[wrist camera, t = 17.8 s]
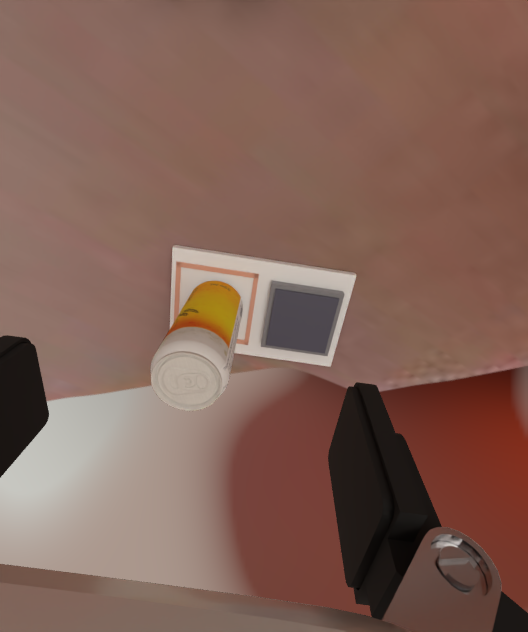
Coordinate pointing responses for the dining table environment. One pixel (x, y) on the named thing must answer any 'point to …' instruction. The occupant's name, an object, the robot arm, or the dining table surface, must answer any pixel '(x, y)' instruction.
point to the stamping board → (271, 302)
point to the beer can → (199, 348)
